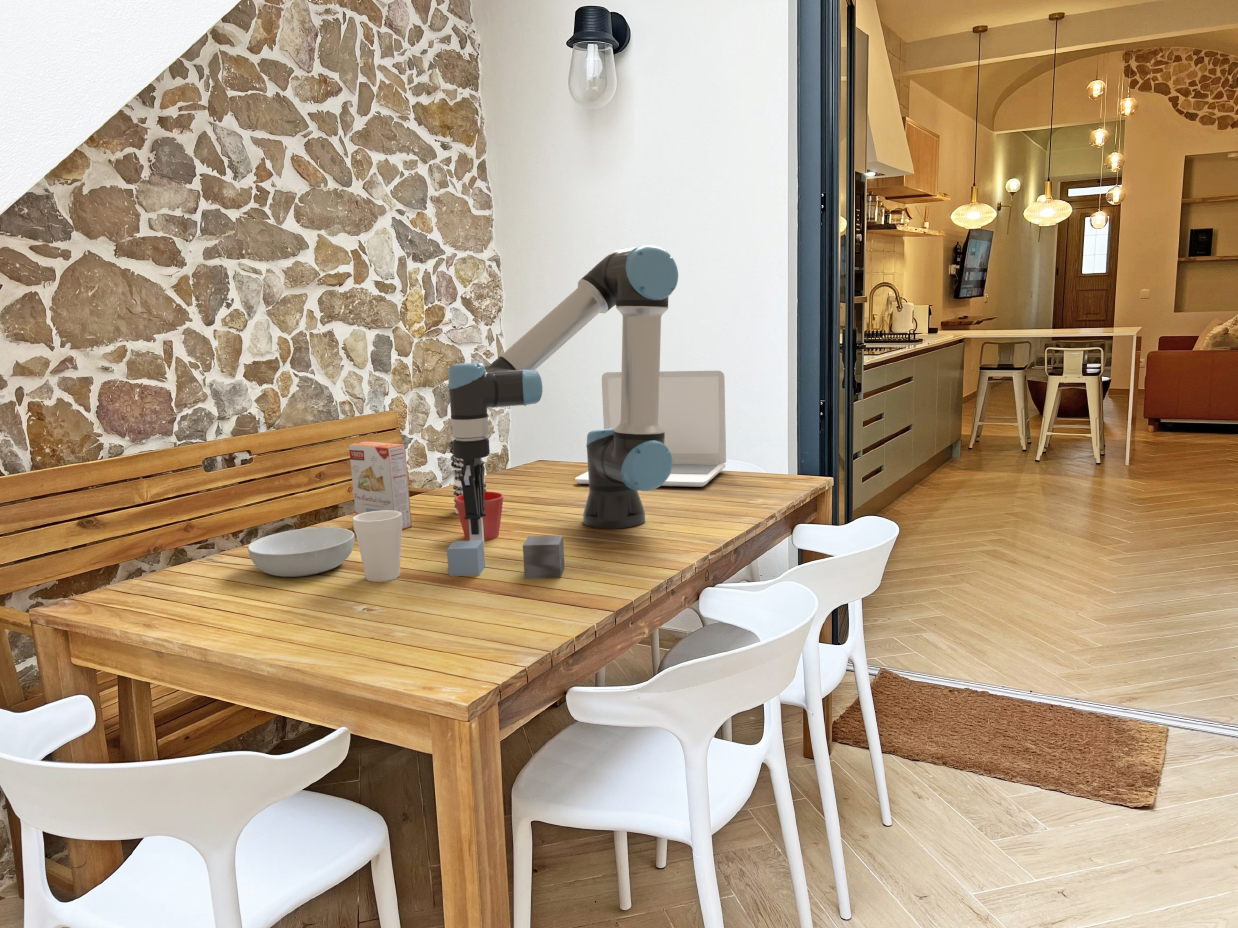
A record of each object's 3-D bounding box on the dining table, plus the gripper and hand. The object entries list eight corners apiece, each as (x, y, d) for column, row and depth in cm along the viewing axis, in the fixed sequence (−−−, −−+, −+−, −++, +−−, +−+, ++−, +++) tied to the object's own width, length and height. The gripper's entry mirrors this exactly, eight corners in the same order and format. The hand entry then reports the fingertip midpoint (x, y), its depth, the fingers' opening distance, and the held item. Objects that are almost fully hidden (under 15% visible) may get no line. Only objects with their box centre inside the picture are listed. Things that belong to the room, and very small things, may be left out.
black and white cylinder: (492, 506, 245) (486, 413, 240) (484, 514, 236) (477, 418, 231) (459, 507, 246) (452, 414, 241) (449, 515, 236) (442, 419, 232)
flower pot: (497, 543, 207) (494, 501, 205) (451, 542, 209) (448, 500, 207) (511, 531, 217) (509, 491, 215) (467, 531, 219) (465, 491, 217)
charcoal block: (564, 569, 184) (563, 535, 183) (560, 579, 178) (558, 544, 176) (530, 569, 185) (528, 536, 184) (524, 580, 178) (522, 545, 177)
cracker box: (355, 527, 228) (347, 444, 224) (373, 521, 233) (366, 440, 229) (394, 533, 220) (387, 447, 216) (412, 527, 225) (406, 443, 221)
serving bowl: (249, 566, 196) (246, 535, 195) (350, 552, 204) (347, 522, 203) (252, 593, 177) (248, 558, 176) (363, 576, 185) (360, 543, 184)
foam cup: (416, 574, 185) (411, 511, 182) (390, 588, 176) (385, 522, 174) (375, 571, 188) (370, 509, 186) (348, 584, 179) (342, 520, 177)
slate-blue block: (485, 568, 187) (483, 540, 186) (479, 577, 181) (477, 548, 180) (456, 569, 187) (454, 541, 186) (449, 578, 181) (446, 548, 180)
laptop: (573, 484, 271) (568, 380, 266) (607, 466, 300) (603, 372, 295) (705, 488, 259) (702, 379, 254) (727, 468, 288) (725, 370, 282)
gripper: (459, 434, 197) (466, 540, 201) (445, 443, 184) (452, 556, 188) (494, 433, 197) (500, 539, 201) (482, 442, 184) (488, 555, 188)
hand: (477, 547), depth 195 cm, fingers closed
